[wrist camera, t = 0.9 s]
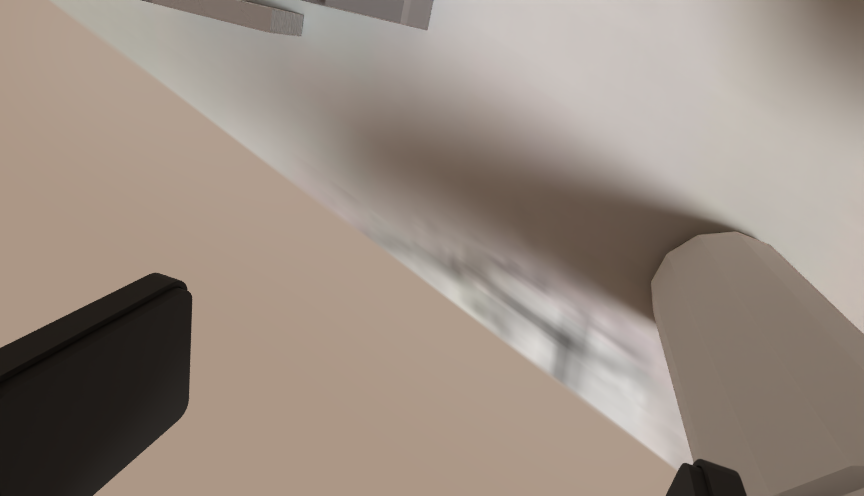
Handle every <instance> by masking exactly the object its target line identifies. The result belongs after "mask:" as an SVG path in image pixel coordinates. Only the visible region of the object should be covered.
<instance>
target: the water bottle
mask: <svg viewBox="0 0 864 496" xmlns="http://www.w3.org/2000/svg"><path fill="white" fill-rule="evenodd" d="M651 290H652V303H653V313H654V317H655V321H656V324H657V328H658V332H659V336H660V339H661V343H662V347H663V350H664V354H665V358H666V362H667V365H668V369H669V373H670V376H671V380H672V384H673V388H674V391H675V395H676V399H677V402H678V406H679V410H680V414H681V417H682V421H683V425H684V428H685V432H686V436H687V440H688V443H689V447H690V451H691V454H692V458H693V462H695V461H696V460H697V459H703V460H706V461H709V462H712V463H715V464H718V465H721V466H724V467H727V468H730V469H732V470H735V471H737V472H738V473H739V475H740V477H741V480H742V483H743V486H744V489H745V492H746V494H747V496H864V334H863V333H862V332H861V331H860V330H859V329H858V328H857V327H856V326H854V325H853V324H852V323H851V322H850V321H849V320H848V319H847V318H846V317H845V316H844V315H843V314H842V313H841V312H840V311H839V310H838V309H837V308H836V307H835V306H834V305H833V304H832V303H830V302H829V301H828V300H827V299H826V298H825V297H824V296H823V295H822V294H821V293H820V292H819V291H818V290H817V289H816V288H815V287H814V286H813V285H812V284H811V283H810V282H809V281H808V280H806V279H805V278H804V277H803V276H802V275H801V274H800V273H799V272H798V271H797V270H796V269H795V268H794V267H793V266H792V265H791V264H790V263H789V262H788V261H787V260H786V259H785V258H783V257H782V256H781V255H780V254H779V253H778V252H777V251H776V250H775V249H774V248H773V247H772V246H771V245H769V244H766V243H764V242H761V241H759V240H756V239H754V238H751V237H749V236H746V235H744V234H741V233H739V232H736V231H735V232H724V233H713V234H702V235H697V236H695V237H693V238H692V239H690V240H688V241H687V242H685V243H684V244H682V245H680V246H679V247H677V248H675V249H674V250H672V251H670V252H669V253H667V254H666V256H665V258H664V260H663V261H662V263H661V265H660V267H659V268H658V270H657V272H656V274H655V276H654V277H653V279H652V281H651Z"/></svg>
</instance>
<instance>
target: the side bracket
mask: <svg viewBox="0 0 864 496" xmlns="http://www.w3.org/2000/svg"><path fill="white" fill-rule="evenodd" d="M142 1H146V2H150V3H154V4H158V5H162V6H166V7H170V8H174V9H178V10H182V11H186V12H190V13H194V14H198V15H202V16H206V17H210V18H214V19H218V20H222V21H226V22H230V23H234V24H238V25H241V26H245V27H249V28H253V29H257V30H261V31H265V32H269V33H277V34H285V35H294V36H301V34H302V26H303V18H304V15H301V14H297V13H293V12H289V11H285V10H281V9H277V8H272V7H268V6H264V5H260V4H256V3H252V2H248V1H244V0H142Z"/></svg>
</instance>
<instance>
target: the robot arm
mask: <svg viewBox="0 0 864 496" xmlns="http://www.w3.org/2000/svg"><path fill="white" fill-rule="evenodd" d="M191 319H192V295H191V293H190V292H189V291H187V286H186V284H185V283H184V282H182V281H180V280H177V279H174V278H171V277H168V276H166V275H163V274H160V273H152V274H149V275H147V276H145V277H143V278H141V279H139V280H137V281H135V282H133V283H131V284H129V285H127V286H125V287H123V288H121V289H119V290H117V291H115V292H113V293H111V294H109V295H107V296H105V297H103V298H101V299H99V300H96V301H94V302H92V303H90V304H88V305H86V306H84V307H82V308H80V309H78V310H76V311H74V312H72V313H70V314H68V315H66V316H64V317H62V318H60V319H58V320H56V321H54V322H52V323H50V324H48V325H46V326H44V327H42V328H40V329H38V330H36V331H34V332H32V333H30V334H28V335H26V336H24V337H22V338H20V339H18V340H16V341H14V342H12V343H10V344H7V345H5V346H4V347H1V348H0V496H93V495H94V494H95V493H96V492H97V491H98V490H100V489H101V488H102V487H103V486H104V485H105V484H106V483H108V482H109V481H110V480H111V479H112V478H113V477H114V476H115V475H116V474H118V473H119V472H120V471H121V470H122V469H123V468H125V467H126V466H127V465H128V464H129V463H130V462H131V461H132V460H134V459H135V458H136V457H137V456H138V455H139V454H140V453H142V452H143V451H144V450H145V449H146V448H147V447H149V445H151V444H152V443H153V442H154V441H155V440H157V439H158V438H159V437H160V436H161V435H162V434H163V433H164V432H166V431H167V430H168V429H169V428H170V427H171V426H172V425H173V424H175V423H176V422H177V421H178V420H179V419H180V418H181V417H182V415H183V414H184V412H185V410H186V409H187V406H188V401H189V377H190V348H191ZM666 496H747V494H746V492H745V489H744V486H743V483H742V480H741V477H740V475H739V473H738V472H737V471H735V470H732V469H730V468H727V467H724V466H721V465H718V464H715V463H712V462H709V461H706V460H703V459H697V460H696V461H695V462H694V463H693V465H690V464H687V463H683V464H682V465H681V467H680V468H679V470H678V472H677V474H676V476H675V478H674V480H673V482H672V484H671V486H670V488H669V490H668V492H667V494H666Z"/></svg>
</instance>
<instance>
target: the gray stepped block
mask: <svg viewBox="0 0 864 496" xmlns="http://www.w3.org/2000/svg"><path fill="white" fill-rule="evenodd" d="M302 1H306V2H310V3H314V4H319V5H323V6H327V7H331V8H335V9H340V10H344V11H348V12H352V13H357V14H361V15H365V16H369V17H373V18H378V19H382V20H386V21H390V22H394V23H399V24H403V25H407V26H411V27H416V28H420V29H424V30H427V29H428V24H429V19H430V15H431V10H432V5H433V0H302Z"/></svg>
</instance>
